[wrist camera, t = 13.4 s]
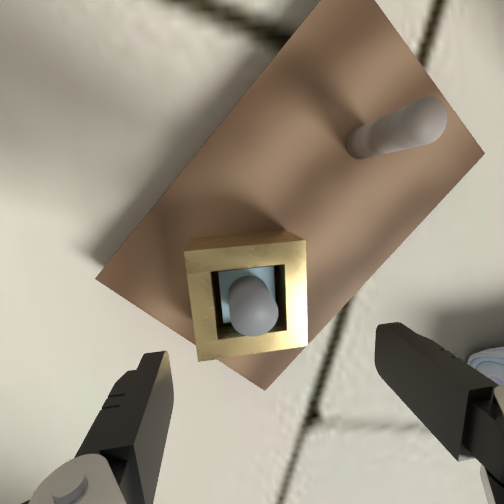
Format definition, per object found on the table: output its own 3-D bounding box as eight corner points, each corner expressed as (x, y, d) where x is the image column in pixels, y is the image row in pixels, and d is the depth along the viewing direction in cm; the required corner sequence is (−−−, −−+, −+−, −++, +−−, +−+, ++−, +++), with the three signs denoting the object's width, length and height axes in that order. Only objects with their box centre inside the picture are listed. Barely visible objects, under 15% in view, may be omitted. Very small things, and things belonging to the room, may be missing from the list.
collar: (285, 229, 17) (305, 240, 14) (288, 314, 19) (307, 345, 15) (191, 237, 17) (183, 251, 13) (201, 325, 18) (198, 361, 14)
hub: (264, 254, 18) (285, 280, 12) (266, 296, 18) (287, 339, 13) (217, 258, 17) (218, 287, 12) (222, 302, 18) (224, 347, 13)
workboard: (459, 157, 20) (595, 137, 13) (260, 373, 22) (282, 461, 15) (333, -9, 16) (426, -167, 9) (107, 269, 18) (37, 319, 11)
